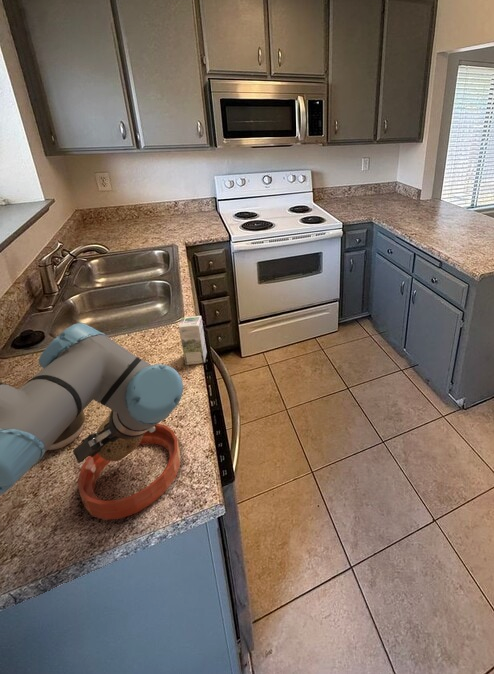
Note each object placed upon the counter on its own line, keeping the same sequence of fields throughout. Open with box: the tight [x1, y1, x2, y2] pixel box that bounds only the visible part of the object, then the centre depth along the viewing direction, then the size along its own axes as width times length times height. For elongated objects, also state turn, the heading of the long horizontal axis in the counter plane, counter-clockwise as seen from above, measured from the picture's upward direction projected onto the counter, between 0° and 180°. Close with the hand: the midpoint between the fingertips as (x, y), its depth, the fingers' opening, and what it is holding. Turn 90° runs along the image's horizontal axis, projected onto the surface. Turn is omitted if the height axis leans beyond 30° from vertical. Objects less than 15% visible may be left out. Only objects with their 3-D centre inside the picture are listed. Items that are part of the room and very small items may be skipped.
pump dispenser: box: [47, 410, 86, 451], centre depth 82 cm, size 10×10×15 cm
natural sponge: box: [96, 415, 143, 462], centre depth 73 cm, size 9×9×10 cm
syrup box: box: [178, 315, 208, 366], centre depth 109 cm, size 6×6×14 cm
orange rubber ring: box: [77, 423, 181, 521], centre depth 75 cm, size 18×18×5 cm
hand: (116, 434), depth 75 cm, fingers closed on natural sponge, 9 cm apart
